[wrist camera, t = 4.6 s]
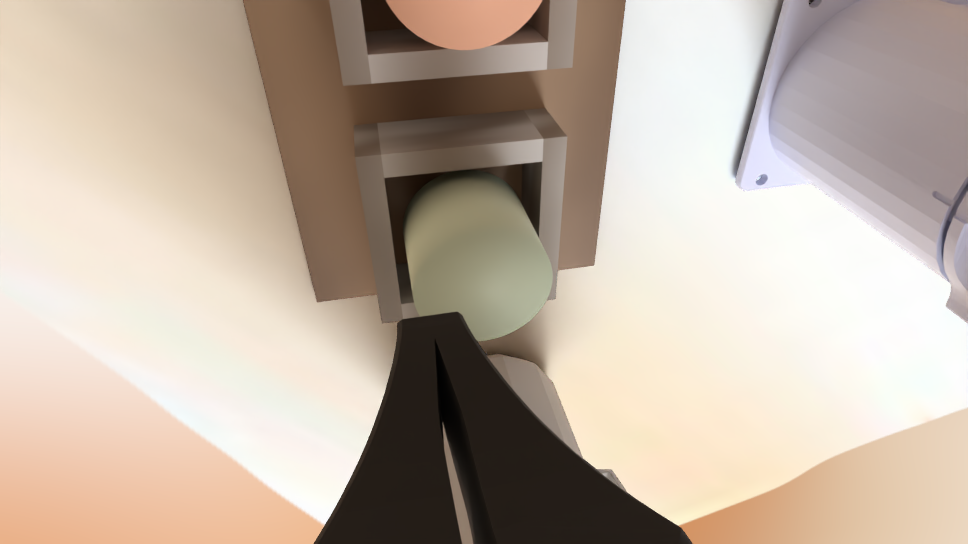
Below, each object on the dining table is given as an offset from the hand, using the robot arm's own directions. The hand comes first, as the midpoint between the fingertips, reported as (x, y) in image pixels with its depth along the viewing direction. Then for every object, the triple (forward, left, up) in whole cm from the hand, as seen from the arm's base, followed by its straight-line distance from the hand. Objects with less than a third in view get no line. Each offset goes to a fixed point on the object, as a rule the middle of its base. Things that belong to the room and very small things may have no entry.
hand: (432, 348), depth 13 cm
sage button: (-2, +2, -8) cm, 9 cm away
